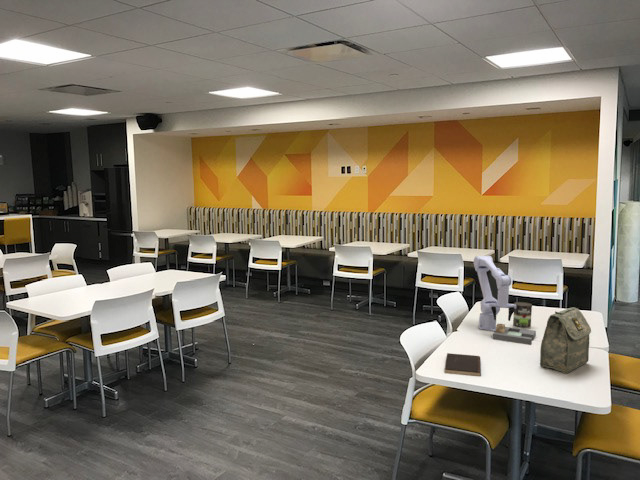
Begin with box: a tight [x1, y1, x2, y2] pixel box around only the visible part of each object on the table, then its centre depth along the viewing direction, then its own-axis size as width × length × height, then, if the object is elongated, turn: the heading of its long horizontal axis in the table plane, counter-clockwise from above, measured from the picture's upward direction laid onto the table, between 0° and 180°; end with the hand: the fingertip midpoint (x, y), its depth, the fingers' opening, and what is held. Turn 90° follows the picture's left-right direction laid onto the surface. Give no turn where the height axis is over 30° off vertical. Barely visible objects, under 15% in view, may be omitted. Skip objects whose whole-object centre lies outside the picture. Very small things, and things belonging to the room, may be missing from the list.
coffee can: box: [512, 301, 533, 330], centre depth 317 cm, size 10×10×14 cm
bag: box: [539, 306, 592, 375], centre depth 251 cm, size 22×16×27 cm
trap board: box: [492, 326, 537, 346], centre depth 296 cm, size 20×18×3 cm
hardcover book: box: [444, 352, 482, 377], centre depth 252 cm, size 16×23×2 cm
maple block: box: [495, 323, 506, 333], centre depth 296 cm, size 4×4×4 cm
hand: (502, 320), depth 299 cm, fingers open, 7 cm apart
